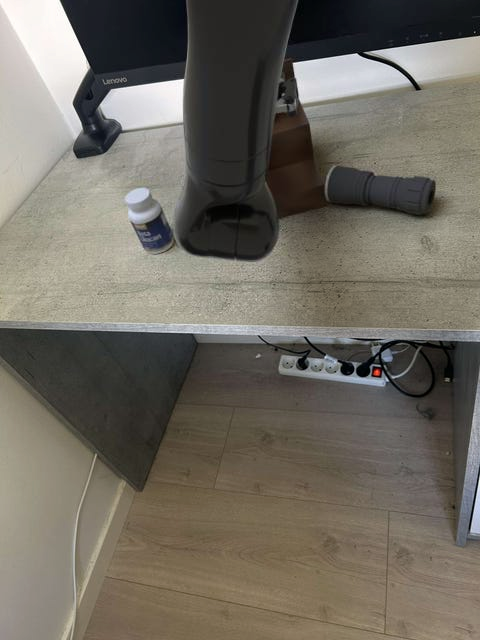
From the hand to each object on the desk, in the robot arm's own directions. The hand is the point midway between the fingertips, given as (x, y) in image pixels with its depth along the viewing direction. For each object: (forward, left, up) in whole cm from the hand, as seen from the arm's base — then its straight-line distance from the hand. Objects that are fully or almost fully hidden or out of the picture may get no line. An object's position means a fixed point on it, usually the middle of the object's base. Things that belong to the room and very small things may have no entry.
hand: (248, 82), depth 70 cm
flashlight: (-15, +11, -19) cm, 26 cm away
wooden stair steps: (-1, -1, -18) cm, 19 cm away
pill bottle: (+20, +7, -19) cm, 28 cm away
